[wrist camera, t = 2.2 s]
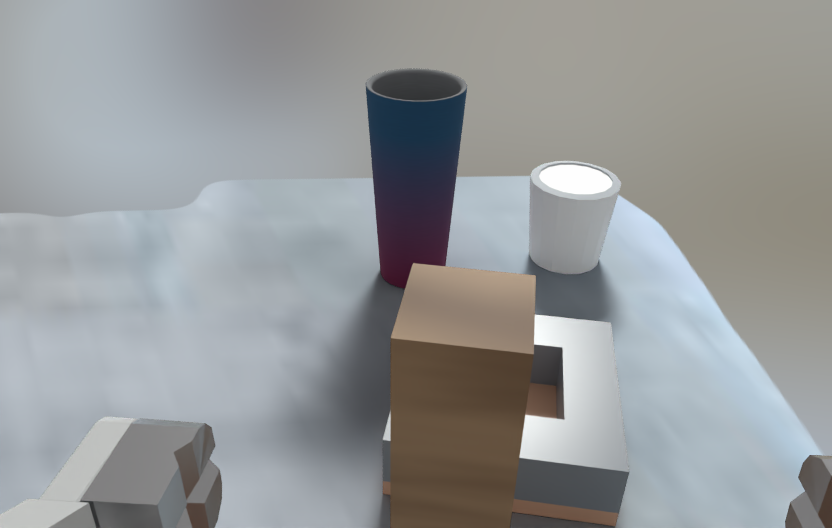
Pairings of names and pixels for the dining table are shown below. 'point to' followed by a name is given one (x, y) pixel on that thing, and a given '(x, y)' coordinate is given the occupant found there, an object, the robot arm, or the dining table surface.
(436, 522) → the block
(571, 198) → the shot glass
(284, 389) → the dining table surface
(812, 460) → the robot arm
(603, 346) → the end cap
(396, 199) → the cup
